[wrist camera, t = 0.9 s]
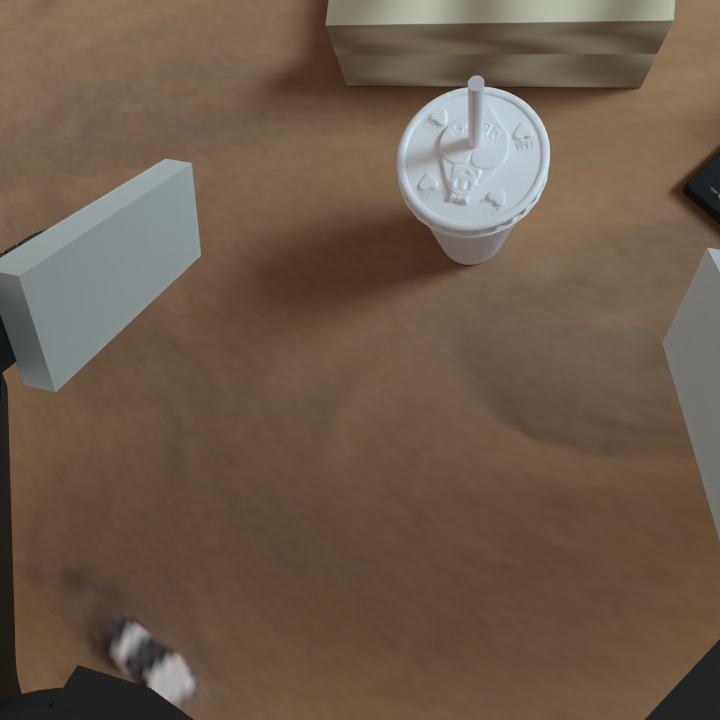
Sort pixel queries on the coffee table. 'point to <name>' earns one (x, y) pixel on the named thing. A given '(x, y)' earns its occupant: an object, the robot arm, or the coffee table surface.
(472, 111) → the smoothie
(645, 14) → the tray
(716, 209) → the handheld gaming console
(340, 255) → the coffee table surface
